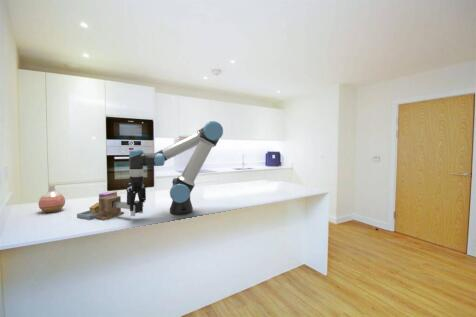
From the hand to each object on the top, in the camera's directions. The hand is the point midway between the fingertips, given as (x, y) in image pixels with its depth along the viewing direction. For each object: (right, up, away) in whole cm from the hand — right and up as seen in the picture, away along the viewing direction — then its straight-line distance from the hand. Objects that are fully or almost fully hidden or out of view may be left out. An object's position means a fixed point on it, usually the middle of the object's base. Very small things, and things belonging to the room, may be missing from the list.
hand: (136, 214), depth 135 cm
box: (-29, -2, +21) cm, 36 cm away
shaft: (-11, +2, +3) cm, 11 cm away
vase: (-62, -2, +15) cm, 64 cm away
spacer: (-27, +1, +8) cm, 28 cm away
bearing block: (-20, -3, +7) cm, 21 cm away
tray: (-30, -2, +7) cm, 31 cm away
